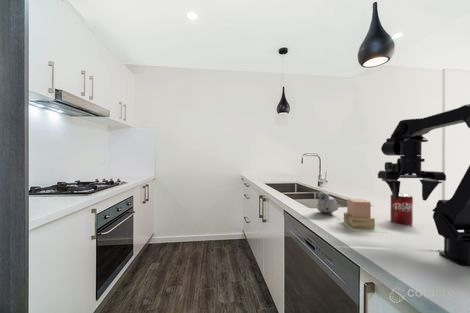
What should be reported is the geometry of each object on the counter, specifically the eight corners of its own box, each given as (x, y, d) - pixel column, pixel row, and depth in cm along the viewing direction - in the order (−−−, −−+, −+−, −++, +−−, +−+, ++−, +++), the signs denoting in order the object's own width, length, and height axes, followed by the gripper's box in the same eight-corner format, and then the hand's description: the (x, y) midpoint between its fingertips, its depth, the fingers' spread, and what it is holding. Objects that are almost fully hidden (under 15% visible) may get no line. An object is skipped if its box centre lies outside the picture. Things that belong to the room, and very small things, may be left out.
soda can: (416, 227, 82) (417, 197, 82) (396, 225, 84) (396, 196, 84) (405, 221, 90) (406, 193, 90) (387, 220, 91) (387, 193, 91)
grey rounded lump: (343, 218, 92) (341, 191, 94) (321, 218, 93) (320, 191, 95) (333, 216, 102) (332, 191, 104) (314, 215, 103) (313, 191, 105)
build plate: (388, 234, 75) (388, 232, 75) (353, 232, 76) (353, 231, 76) (364, 220, 91) (364, 218, 91) (336, 219, 92) (336, 218, 92)
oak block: (374, 229, 78) (374, 218, 78) (352, 228, 79) (352, 218, 79) (363, 222, 86) (363, 212, 86) (343, 221, 87) (343, 212, 87)
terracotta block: (370, 217, 79) (370, 202, 79) (354, 217, 80) (354, 201, 80) (362, 213, 85) (362, 198, 85) (347, 212, 86) (347, 198, 86)
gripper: (420, 155, 79) (420, 196, 80) (369, 155, 81) (369, 195, 81) (447, 155, 68) (447, 202, 68) (387, 155, 70) (387, 201, 70)
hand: (410, 200), depth 72 cm, fingers open, 9 cm apart
